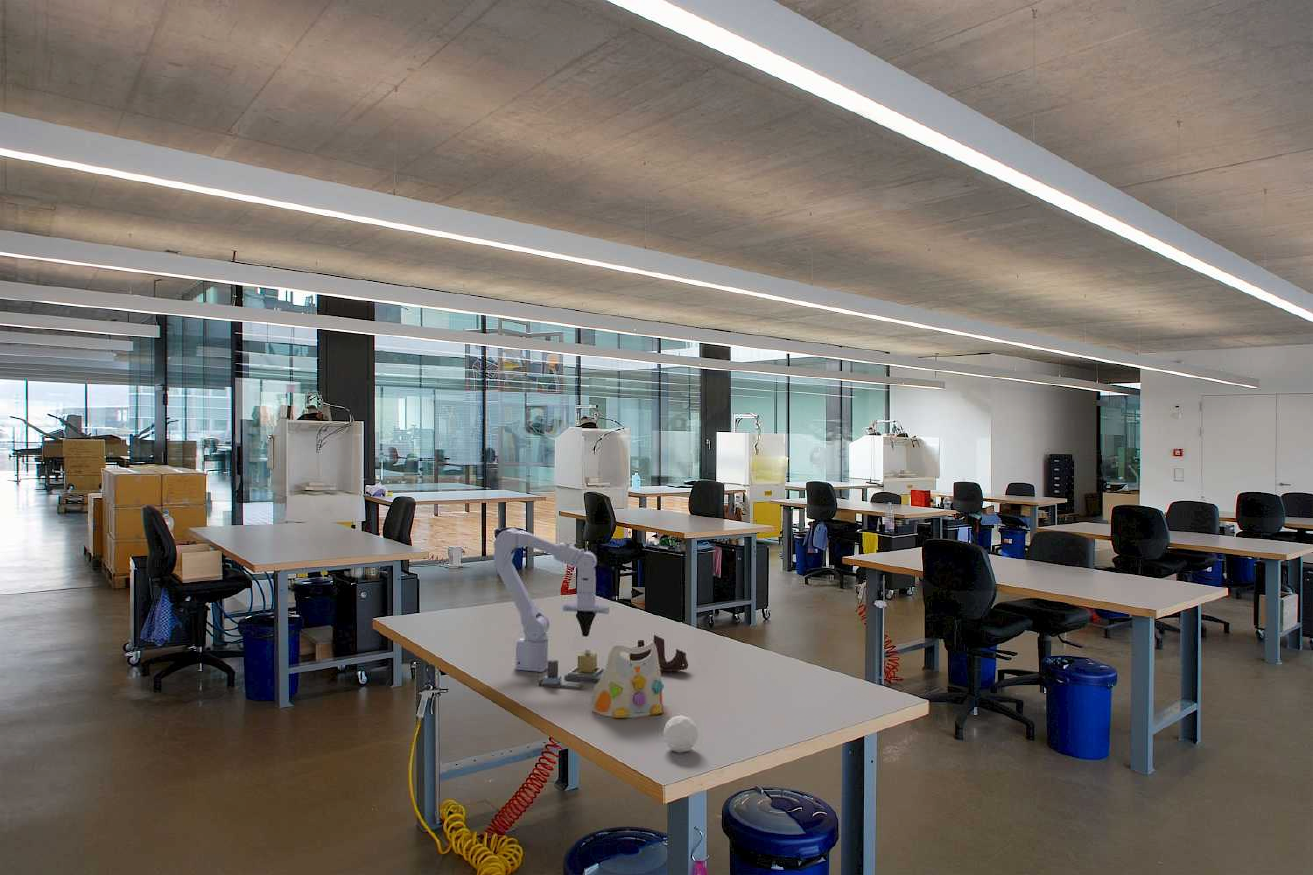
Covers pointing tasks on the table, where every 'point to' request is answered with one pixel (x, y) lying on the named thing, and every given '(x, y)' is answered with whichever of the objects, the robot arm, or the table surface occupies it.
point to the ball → (680, 733)
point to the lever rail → (561, 684)
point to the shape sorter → (629, 685)
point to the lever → (552, 673)
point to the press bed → (585, 675)
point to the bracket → (662, 656)
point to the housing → (587, 662)
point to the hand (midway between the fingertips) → (585, 635)
